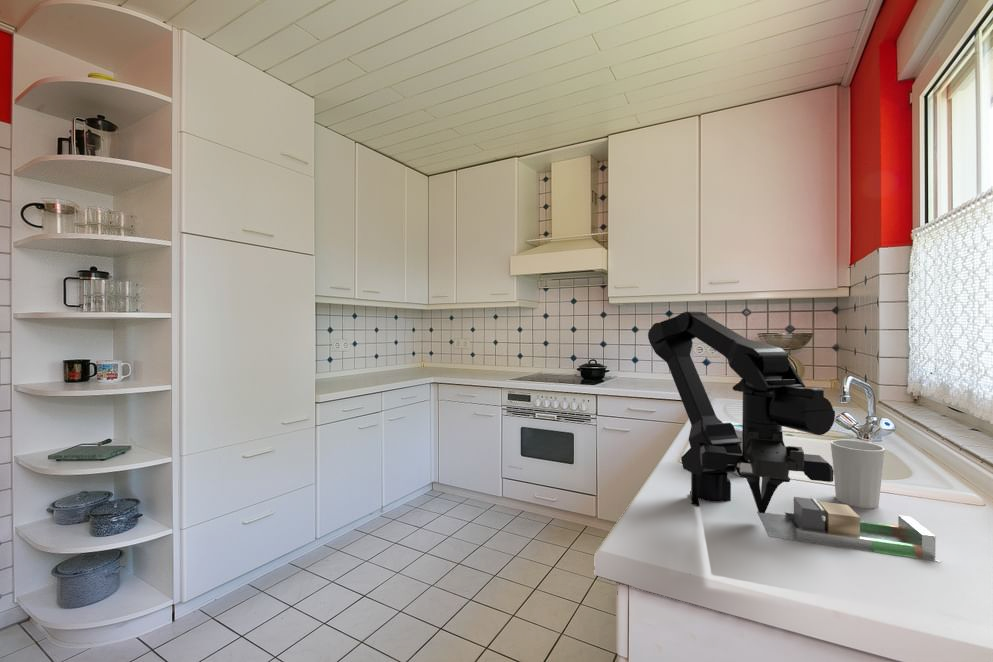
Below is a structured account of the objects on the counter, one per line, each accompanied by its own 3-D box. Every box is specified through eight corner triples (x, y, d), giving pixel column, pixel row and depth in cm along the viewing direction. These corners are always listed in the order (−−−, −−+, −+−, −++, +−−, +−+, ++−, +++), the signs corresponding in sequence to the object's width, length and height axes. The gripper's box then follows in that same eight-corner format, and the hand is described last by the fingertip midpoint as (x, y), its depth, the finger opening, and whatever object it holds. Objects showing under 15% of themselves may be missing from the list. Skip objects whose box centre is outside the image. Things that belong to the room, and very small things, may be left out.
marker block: (828, 538, 68) (828, 513, 68) (818, 525, 73) (818, 501, 73) (859, 543, 67) (860, 517, 67) (847, 529, 72) (847, 504, 72)
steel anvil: (921, 554, 64) (922, 534, 64) (898, 533, 70) (898, 515, 70) (935, 556, 63) (935, 536, 63) (910, 535, 70) (910, 516, 70)
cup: (895, 518, 78) (895, 452, 78) (844, 514, 80) (845, 449, 80) (867, 501, 86) (867, 440, 86) (821, 498, 88) (822, 438, 88)
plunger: (803, 535, 69) (803, 509, 69) (793, 519, 74) (793, 495, 74) (826, 538, 68) (826, 511, 68) (814, 522, 73) (814, 498, 73)
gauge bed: (769, 543, 69) (769, 528, 69) (757, 518, 79) (757, 504, 79) (941, 570, 62) (941, 553, 62) (905, 538, 71) (905, 523, 71)
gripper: (704, 426, 70) (704, 523, 70) (847, 437, 63) (846, 544, 63) (699, 413, 80) (699, 497, 80) (821, 421, 73) (821, 513, 74)
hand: (761, 512), depth 74 cm, fingers closed
